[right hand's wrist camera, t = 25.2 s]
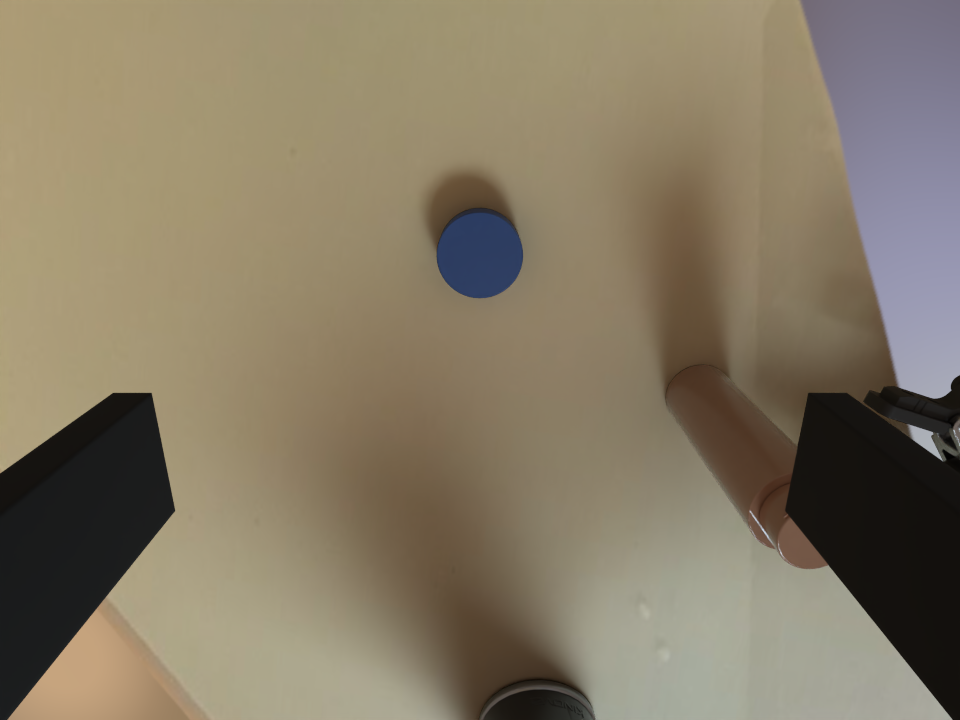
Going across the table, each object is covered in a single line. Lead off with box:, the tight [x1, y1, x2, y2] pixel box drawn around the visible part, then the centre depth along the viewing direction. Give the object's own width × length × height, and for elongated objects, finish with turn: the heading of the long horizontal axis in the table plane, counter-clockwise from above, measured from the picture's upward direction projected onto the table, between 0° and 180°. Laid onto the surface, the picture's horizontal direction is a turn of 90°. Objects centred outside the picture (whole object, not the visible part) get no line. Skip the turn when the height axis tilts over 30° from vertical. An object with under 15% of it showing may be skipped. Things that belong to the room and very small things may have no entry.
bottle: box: [666, 365, 828, 569], centre depth 33 cm, size 4×4×15 cm
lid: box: [437, 208, 523, 298], centre depth 36 cm, size 5×5×2 cm
